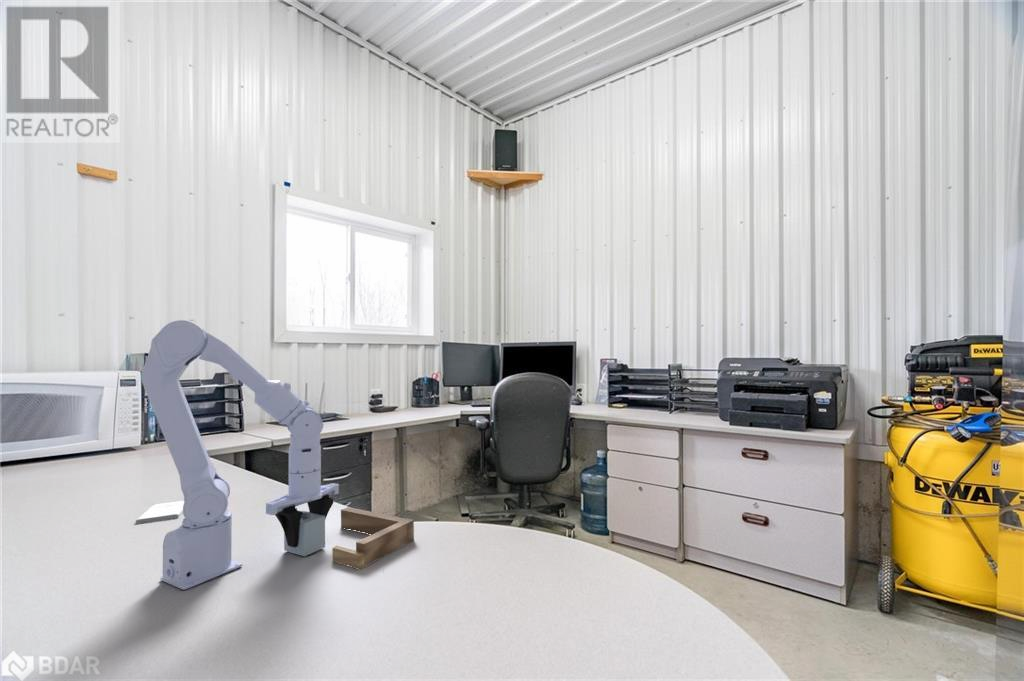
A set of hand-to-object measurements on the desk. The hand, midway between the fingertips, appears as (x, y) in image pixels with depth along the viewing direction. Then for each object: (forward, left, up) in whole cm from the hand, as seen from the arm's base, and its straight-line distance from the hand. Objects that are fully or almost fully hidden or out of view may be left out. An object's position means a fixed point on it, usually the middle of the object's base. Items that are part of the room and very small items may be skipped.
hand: (304, 541), depth 86 cm
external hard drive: (-1, +52, -3) cm, 52 cm away
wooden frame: (+6, -7, -2) cm, 9 cm away
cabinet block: (0, 0, -2) cm, 2 cm away
